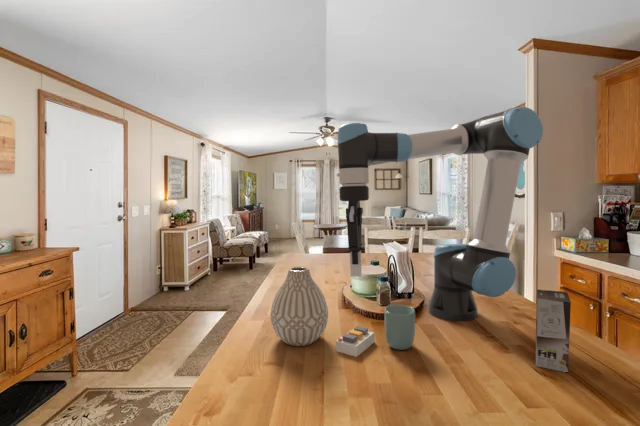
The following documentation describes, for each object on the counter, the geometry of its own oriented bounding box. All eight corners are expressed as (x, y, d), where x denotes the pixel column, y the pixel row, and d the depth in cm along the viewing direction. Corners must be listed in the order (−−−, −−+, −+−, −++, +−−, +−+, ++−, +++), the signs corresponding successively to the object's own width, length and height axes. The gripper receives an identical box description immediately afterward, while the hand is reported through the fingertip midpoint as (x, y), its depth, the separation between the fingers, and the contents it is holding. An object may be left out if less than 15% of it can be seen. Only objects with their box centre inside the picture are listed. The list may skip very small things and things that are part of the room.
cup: (416, 354, 87) (416, 315, 86) (384, 352, 88) (384, 313, 87) (414, 341, 94) (414, 305, 94) (384, 339, 96) (384, 303, 95)
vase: (283, 358, 86) (282, 278, 84) (263, 335, 100) (261, 266, 98) (339, 344, 93) (338, 270, 92) (312, 324, 107) (312, 260, 106)
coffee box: (569, 373, 77) (571, 302, 76) (535, 366, 80) (536, 297, 79) (566, 356, 84) (568, 291, 83) (535, 350, 88) (536, 288, 87)
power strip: (354, 338, 97) (354, 323, 97) (374, 343, 94) (374, 328, 94) (335, 352, 89) (335, 336, 89) (356, 358, 86) (356, 341, 86)
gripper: (343, 186, 96) (345, 269, 98) (334, 185, 84) (337, 281, 85) (370, 185, 95) (372, 270, 96) (365, 184, 82) (368, 282, 84)
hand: (356, 275), depth 91 cm, fingers closed
